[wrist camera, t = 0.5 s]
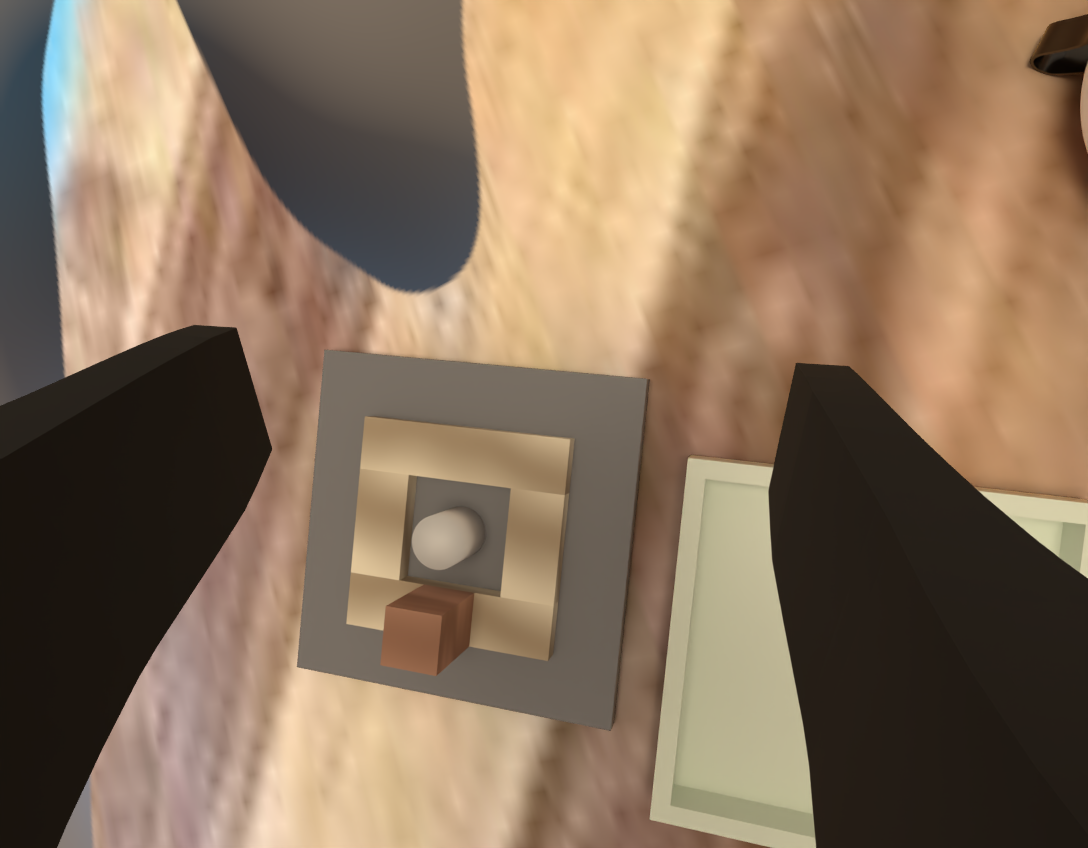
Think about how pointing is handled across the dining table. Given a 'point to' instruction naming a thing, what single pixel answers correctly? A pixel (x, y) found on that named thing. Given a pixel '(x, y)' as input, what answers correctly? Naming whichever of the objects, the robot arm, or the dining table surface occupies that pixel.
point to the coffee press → (1066, 57)
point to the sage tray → (760, 659)
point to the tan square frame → (446, 608)
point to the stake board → (584, 536)
